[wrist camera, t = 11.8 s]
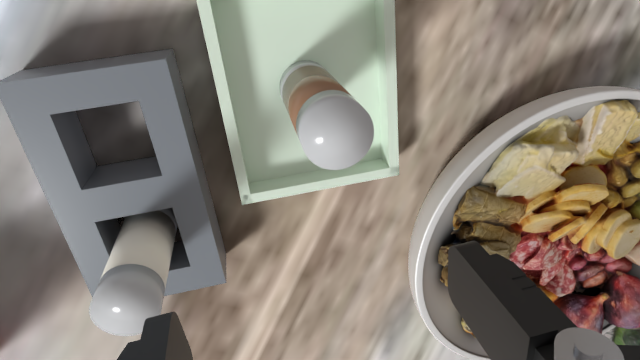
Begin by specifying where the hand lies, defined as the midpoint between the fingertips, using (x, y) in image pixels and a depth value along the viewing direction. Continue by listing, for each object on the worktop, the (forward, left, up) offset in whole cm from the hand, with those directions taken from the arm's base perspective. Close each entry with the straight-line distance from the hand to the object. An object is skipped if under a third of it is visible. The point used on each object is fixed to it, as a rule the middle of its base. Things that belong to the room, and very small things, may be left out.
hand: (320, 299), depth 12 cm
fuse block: (+5, -11, -23) cm, 26 cm away
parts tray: (0, +3, -23) cm, 23 cm away
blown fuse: (0, +3, -23) cm, 23 cm away
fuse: (+9, -11, -23) cm, 27 cm away
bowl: (+18, +25, -24) cm, 39 cm away
